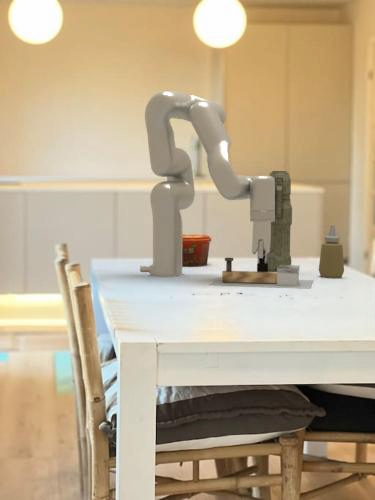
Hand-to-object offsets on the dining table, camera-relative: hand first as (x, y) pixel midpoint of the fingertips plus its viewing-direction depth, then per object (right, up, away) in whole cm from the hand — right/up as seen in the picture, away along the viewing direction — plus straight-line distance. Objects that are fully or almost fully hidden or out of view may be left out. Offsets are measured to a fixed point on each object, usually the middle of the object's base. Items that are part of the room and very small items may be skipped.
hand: (262, 276), depth 267 cm
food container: (-22, +2, +57) cm, 61 cm away
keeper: (+7, -2, -5) cm, 9 cm away
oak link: (-1, -2, -3) cm, 4 cm away
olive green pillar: (+7, -1, +26) cm, 27 cm away
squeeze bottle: (+23, -2, +13) cm, 27 cm away
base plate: (0, -3, -2) cm, 4 cm away
